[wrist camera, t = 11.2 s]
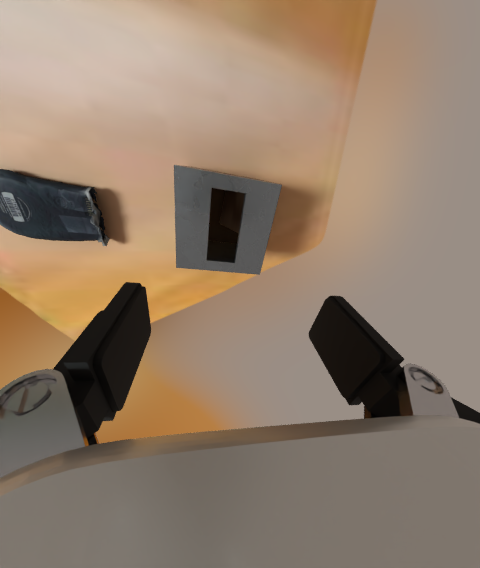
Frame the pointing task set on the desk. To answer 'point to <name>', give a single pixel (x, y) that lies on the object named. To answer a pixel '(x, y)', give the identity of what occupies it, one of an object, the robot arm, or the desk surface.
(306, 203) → the desk surface
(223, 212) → the block
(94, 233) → the electronic device
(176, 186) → the slot box
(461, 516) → the robot arm
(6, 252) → the desk surface
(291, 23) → the desk surface
